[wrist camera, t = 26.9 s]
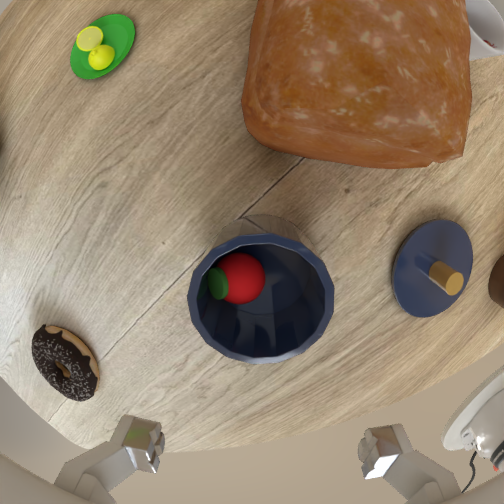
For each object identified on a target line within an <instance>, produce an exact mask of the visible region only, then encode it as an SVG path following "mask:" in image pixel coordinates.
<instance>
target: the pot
mask: <svg viewBox="0 0 504 504" xmlns="http://www.w3.org/2000/svg"><path fill="white" fill-rule="evenodd" d="M233 253H246V254H249V255H251V256H253V257H255V258H256V259H257V260H258V261H259V262H260V263H261V265H262V267H263V269H264V272H265V285H264V288H263V290H262V292H261V294H260V295H259V296H258V297H257V298H256V299H255V300H253V301H251V302H249V303H246V304H233V303H230V302H228V301H226V300H224V299H216V298H214V297H213V295H212V294H211V292H210V289H209V286H208V272H209V270H210V269H211V268H215V267H216V266H217V265H218V263H219V262H220V261H221V260H222V259H223V258H224V257H226V256H227V255H230V254H233ZM187 301H188V306H189V311H190V316H191V321H192V323H193V325H194V326H195V328H196V329H197V330H198V332H199V333H200V335H201V336H202V338H203V339H204V341H205V342H206V343H207V344H208V345H210V346H211V347H213V348H214V349H216V350H217V351H219V352H220V353H222V354H223V355H225V356H226V357H228V358H231V359H235V360H239V361H242V362H246V363H250V364H267V363H279V362H282V361H284V360H287V359H289V358H292V357H294V356H297V355H299V354H302V353H303V352H305V351H306V350H307V349H308V348H309V347H310V346H311V345H313V344H314V343H315V342H316V341H317V340H318V339H319V338H320V337H321V336H322V335H323V333H324V331H325V329H326V327H327V325H328V323H329V321H330V319H331V317H332V315H333V312H334V285H333V282H332V280H331V278H330V275H329V273H328V271H327V268H326V266H325V264H324V262H323V260H322V259H321V257H320V256H319V254H318V252H317V251H316V249H315V248H314V246H313V245H312V243H311V241H310V240H309V238H308V237H307V236H306V235H305V234H304V233H303V232H302V231H301V230H300V229H299V228H298V227H296V226H295V225H294V224H292V223H291V222H289V221H287V220H285V219H282V218H280V217H276V216H272V215H250V216H245V217H243V218H240V219H238V220H235V221H233V222H232V223H230V224H228V225H227V226H225V227H224V228H223V229H222V230H221V231H220V232H219V233H218V235H217V236H216V237H215V239H214V240H213V241H212V242H211V243H210V245H209V247H208V248H207V250H206V251H205V253H204V255H203V256H202V258H201V260H200V261H199V263H198V265H197V266H196V268H195V270H194V271H193V274H192V278H191V282H190V286H189V290H188V294H187Z"/></svg>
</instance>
